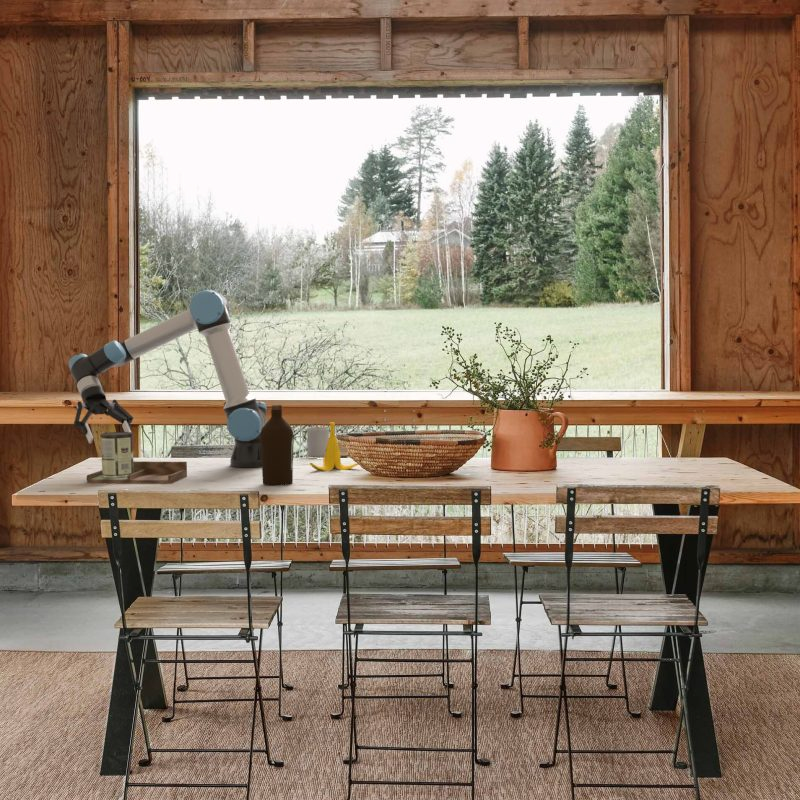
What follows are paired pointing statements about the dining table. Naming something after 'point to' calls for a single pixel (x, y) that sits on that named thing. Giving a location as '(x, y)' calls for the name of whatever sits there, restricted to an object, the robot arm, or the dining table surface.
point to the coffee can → (117, 454)
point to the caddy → (146, 473)
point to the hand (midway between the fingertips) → (111, 439)
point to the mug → (317, 441)
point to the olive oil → (277, 450)
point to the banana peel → (332, 454)
